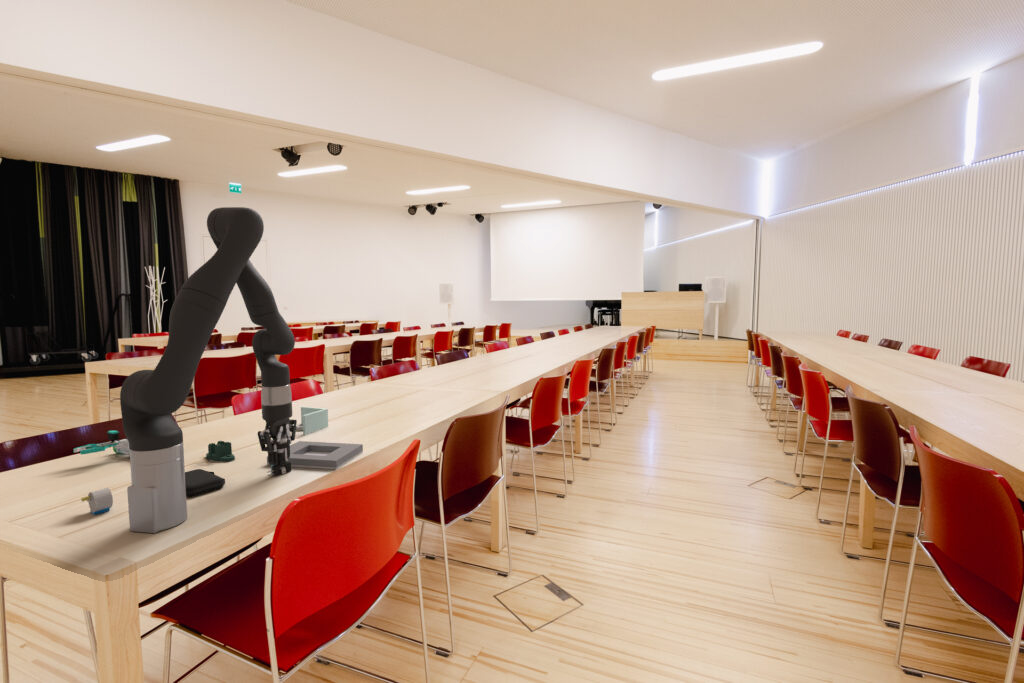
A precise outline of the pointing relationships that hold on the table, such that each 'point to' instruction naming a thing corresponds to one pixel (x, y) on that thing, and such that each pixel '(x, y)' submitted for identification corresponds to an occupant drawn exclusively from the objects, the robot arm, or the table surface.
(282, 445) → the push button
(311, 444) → the plate
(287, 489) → the table surface
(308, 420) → the l-shaped corner panel
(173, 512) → the robot arm
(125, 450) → the robot kit
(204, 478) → the carrying case or bag
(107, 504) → the electric motor
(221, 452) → the mount
